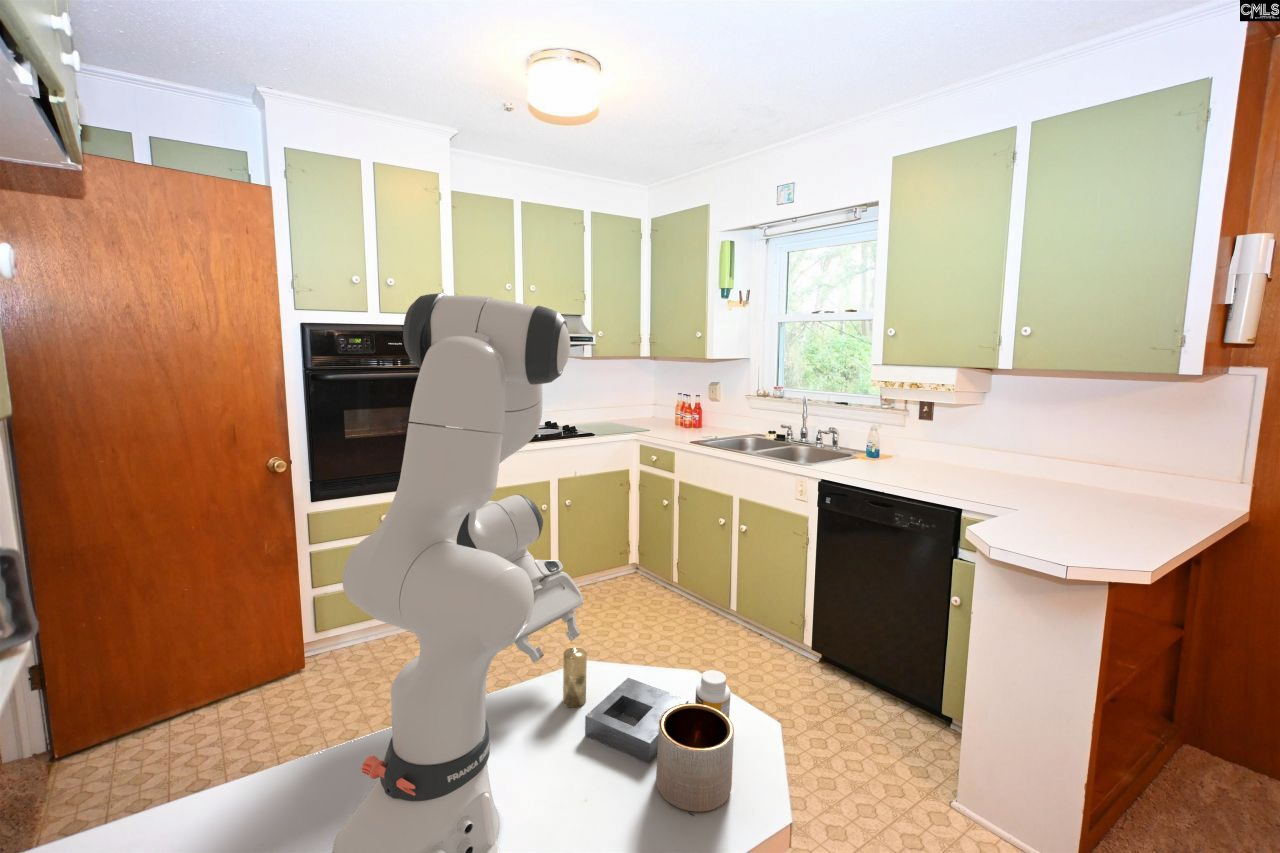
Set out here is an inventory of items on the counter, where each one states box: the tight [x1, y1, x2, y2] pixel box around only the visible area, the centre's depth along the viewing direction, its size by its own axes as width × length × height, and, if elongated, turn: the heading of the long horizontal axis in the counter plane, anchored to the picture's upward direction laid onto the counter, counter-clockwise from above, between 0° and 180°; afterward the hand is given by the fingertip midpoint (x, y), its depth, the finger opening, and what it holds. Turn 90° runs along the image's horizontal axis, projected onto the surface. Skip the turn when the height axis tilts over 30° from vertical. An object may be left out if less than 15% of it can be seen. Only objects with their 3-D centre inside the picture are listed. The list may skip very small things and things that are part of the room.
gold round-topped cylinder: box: [562, 647, 588, 709], centre depth 105 cm, size 4×4×9 cm
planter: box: [655, 702, 735, 813], centre depth 86 cm, size 11×11×10 cm
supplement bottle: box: [694, 669, 731, 719], centre depth 97 cm, size 6×6×10 cm
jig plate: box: [584, 677, 689, 765], centre depth 99 cm, size 13×12×4 cm
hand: (558, 648), depth 107 cm, fingers open, 8 cm apart
